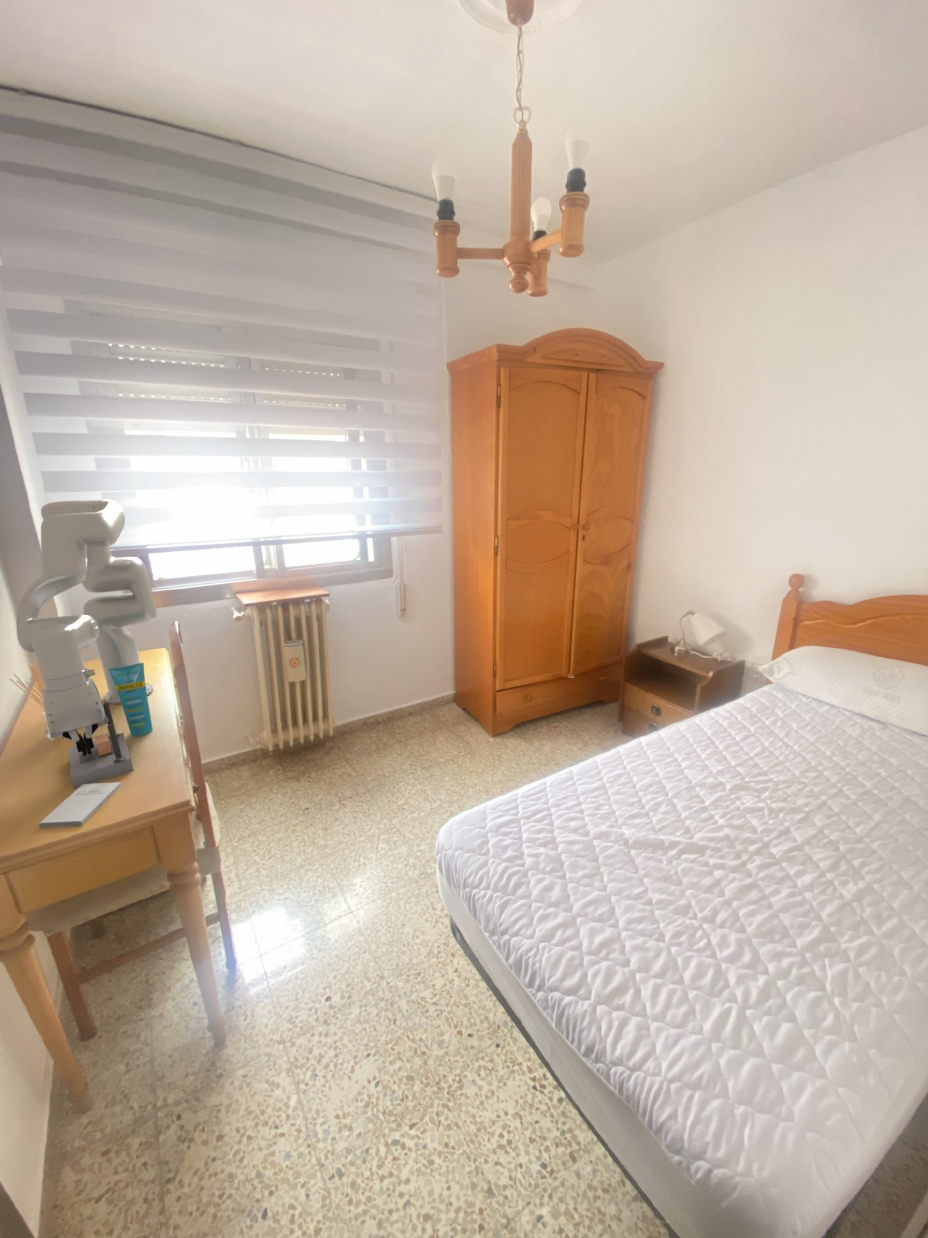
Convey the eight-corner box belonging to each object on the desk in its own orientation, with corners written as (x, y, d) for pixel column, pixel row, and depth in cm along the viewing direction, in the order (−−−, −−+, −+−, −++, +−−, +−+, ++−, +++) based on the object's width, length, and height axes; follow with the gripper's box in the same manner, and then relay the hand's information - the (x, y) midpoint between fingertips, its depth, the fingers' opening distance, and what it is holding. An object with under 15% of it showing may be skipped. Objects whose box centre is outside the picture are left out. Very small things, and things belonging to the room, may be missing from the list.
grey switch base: (72, 758, 119) (68, 747, 118) (125, 742, 125) (123, 731, 124) (74, 790, 107) (70, 777, 106) (133, 770, 114) (130, 758, 113)
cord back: (110, 733, 122) (102, 703, 120) (115, 731, 123) (107, 701, 120) (110, 735, 121) (102, 704, 119) (116, 733, 122) (108, 703, 120)
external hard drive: (40, 830, 96) (83, 789, 108) (83, 827, 97) (121, 787, 109) (37, 823, 96) (81, 783, 108) (81, 820, 96) (120, 781, 108)
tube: (125, 740, 126) (107, 671, 121) (125, 732, 130) (108, 665, 124) (159, 731, 130) (143, 664, 124) (158, 724, 134) (142, 659, 128)
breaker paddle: (98, 748, 117) (95, 736, 116) (110, 745, 118) (107, 733, 117) (99, 756, 114) (96, 743, 113) (111, 752, 115) (108, 740, 114)
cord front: (115, 756, 112) (106, 724, 110) (121, 754, 113) (113, 722, 110) (116, 759, 111) (107, 726, 109) (122, 757, 112) (113, 724, 110)
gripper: (105, 666, 116) (123, 735, 121) (22, 684, 107) (46, 757, 112) (108, 676, 110) (127, 747, 116) (21, 696, 101) (45, 772, 107)
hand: (87, 752), depth 114 cm, fingers closed
